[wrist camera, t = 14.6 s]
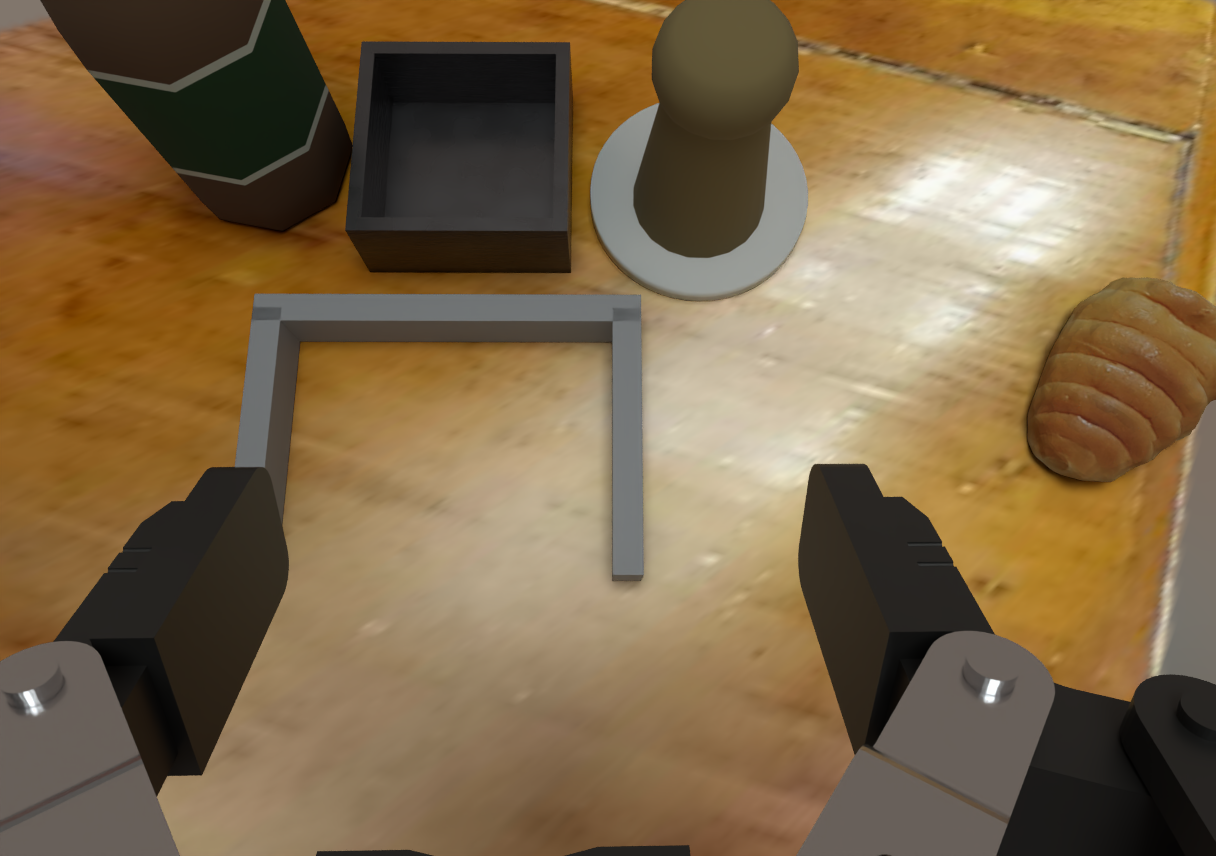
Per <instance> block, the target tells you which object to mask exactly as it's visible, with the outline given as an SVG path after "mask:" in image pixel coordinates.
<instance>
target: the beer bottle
mask: <svg viewBox="0 0 1216 856" xmlns="http://www.w3.org/2000/svg"><path fill="white" fill-rule="evenodd" d="M41 2H42V3H43V6H44V7H45V9H46V11H47V12H48V14H49V16H50V17H51V19H52V21H53V22H54V24H55V26H56V28H57V29H58V31H59V32H60V34H61V35H62V36H63V38H64V39H65V40H66V42H67V43H68V44H69V46H70V47H71V49H72V50H73V51H74V53H75V54H76V55H77V57H78V58H79V60H80V61H81V62H82V64H83V65H84V66H85V68H86V69H87V70H88V72H89V73H90V74H91V75H92V76H93V77H94V78H95V80H96V81H97V82H98V83H99V84H100V85H101V87H102V88H103V89H104V90H105V91H106V92H107V93H108V95H109V96H110V97H111V98H112V99H113V100H114V101H115V103H116V104H117V105H118V106H119V107H120V108H121V109H122V111H123V112H124V113H125V114H126V115H127V116H128V118H129V119H130V120H131V121H132V122H133V123H134V124H135V126H136V127H137V128H138V129H139V130H140V131H141V132H142V134H143V135H144V136H145V137H146V138H147V139H148V140H149V142H150V143H151V144H152V145H153V146H154V147H155V149H156V150H157V151H158V152H159V153H160V154H161V155H162V157H163V158H164V159H165V160H166V161H167V162H168V163H169V165H170V166H171V167H172V168H173V169H174V170H175V171H176V173H177V174H178V175H179V176H180V177H181V178H182V180H183V181H184V182H185V183H186V184H187V185H188V186H189V188H190V189H191V190H192V191H193V192H194V193H195V194H196V196H197V197H198V198H199V199H200V200H201V201H202V202H203V203H204V204H205V205H206V206H207V207H208V208H209V209H210V210H211V211H212V212H213V213H214V214H215V215H216V216H217V217H218V218H219V219H222V220H227V221H232V222H238V223H243V224H248V225H253V226H259V227H264V228H269V229H275V230H280V231H284V230H286V229H287V228H289V227H291V226H293V225H295V224H296V223H298V222H300V221H302V220H303V219H305V218H307V217H309V216H311V215H312V214H314V213H316V212H318V211H319V210H321V209H323V208H325V207H327V206H328V205H330V204H332V203H334V202H335V200H336V197H337V194H338V191H339V188H340V184H341V181H342V178H343V175H344V172H345V169H346V166H347V162H348V159H349V156H350V153H351V150H352V147H353V145H352V142H351V140H350V137H349V134H348V132H347V129H346V126H345V124H344V121H343V119H342V117H341V115H340V113H339V111H338V109H337V107H336V105H335V103H334V101H333V99H332V97H331V94H330V92H329V90H328V88H327V86H326V84H325V82H324V80H323V78H322V76H321V74H320V72H319V69H318V67H317V65H316V63H315V61H314V59H313V57H312V55H311V53H310V51H309V49H308V47H307V44H306V42H305V40H304V38H303V36H302V34H301V32H300V30H299V28H298V26H297V24H296V22H295V19H294V17H293V15H292V13H291V11H290V9H289V7H288V5H287V3H286V1H285V0H41Z"/></svg>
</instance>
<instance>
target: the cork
mask: <svg viewBox="0 0 1216 856" xmlns="http://www.w3.org/2000/svg"><path fill="white" fill-rule="evenodd" d="M798 72H799V65H798V41H797V39H796V36H795V34H794V32H793V29H792V27H791V24H790V22H789V21H788V19H787V18H786V16H785V15H784V14H783V13H782V12H781V11H780V10H779V8H778V7H777V6H776V5H775V4H774V3H773V2H771V1H770V0H685V1H683V2H682V3H681V4H679V5H678V6H677V7H676V8H675V9H674V10H673V11H672V13H671V14H670V15H669V16H668V17H667V18H666V19H665V20H664V22H663V25H662V27H661V29H660V31H659V34H658V36H657V39H656V41H655V44H654V46H653V52H652V81H653V84H654V87H655V90H656V93H657V96H658V99H659V101H660V103H659V106H658V110H657V113H656V116H655V119H654V123H653V126H652V129H651V132H650V136H649V139H648V142H647V145H646V149H645V152H644V155H643V158H642V162H641V165H640V168H639V171H638V175H637V178H636V181H635V184H634V190H633V207H634V210H635V213H636V216H637V219H638V222H639V224H640V226H641V227H642V228H643V229H644V231H645V232H646V233H647V235H648V236H649V237H650V239H651V240H653V241H654V242H656V243H657V244H658V245H660V246H661V247H663V248H664V249H666V250H667V251H669V252H672V253H675V254H678V255H682V256H685V257H688V258H711V257H715V256H718V255H722V254H726V253H729V252H731V251H732V250H734V249H735V248H737V247H738V246H740V245H742V244H743V243H745V242H746V241H747V240H748V238H749V237H750V236H751V235H752V233H753V232H754V231H755V230H756V228H757V227H758V225H759V222H760V219H761V216H762V213H763V210H764V202H765V190H766V179H767V167H768V155H769V143H770V132H771V122H772V120H773V119H774V118H775V117H776V116H777V114H778V113H779V112H780V111H781V109H782V108H783V107H784V106H785V105H786V103H787V102H788V101H789V98H790V95H791V92H792V89H793V87H794V84H795V81H796V78H797V75H798Z"/></svg>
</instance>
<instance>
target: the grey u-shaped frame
mask: <svg viewBox="0 0 1216 856" xmlns="http://www.w3.org/2000/svg"><path fill="white" fill-rule="evenodd" d="M300 341H314V342H612V581H641V580H642V577H643V575H644V562H643V461H642V360H641V295H494V294H255V295H254V304H253V313H252V321H251V330H250V339H249V347H248V356H247V365H246V374H245V382H244V391H243V400H242V408H241V417H240V426H239V435H238V443H237V452H236V461H235V467H264V468H265V469H266V470H267V471H268V473H269V475H270V477H271V480H272V484H273V489H274V493H275V497H276V502H277V506H278V510H279V515H280V519H281V524H282V521H283V510H284V500H285V490H286V480H287V470H288V460H289V450H290V439H291V429H292V419H293V409H294V399H295V389H296V379H297V368H298V358H299V348H300Z"/></svg>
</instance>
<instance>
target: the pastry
mask: <svg viewBox="0 0 1216 856" xmlns="http://www.w3.org/2000/svg"><path fill="white" fill-rule="evenodd" d="M1213 400H1216V307H1215V306H1214V305H1213V304H1212V303H1210V302H1209V301H1208V300H1206V299H1205V298H1204V297H1203V296H1201V295H1200V294H1198V293H1197V292H1195V291H1192V290H1189V289H1185V288H1181V287H1177V286H1176V285H1174V284H1173V283H1171V282H1168V281H1165V280H1161V279H1155V278H1121V279H1118V280H1115V281H1113V282H1111V283H1110V284H1109V285H1108V286H1106V287H1105V288H1104V289H1103V290H1102V291H1100V292H1099V293H1097V294H1094V295H1092V296H1090V297H1089V298H1087V299H1085V300H1084V301H1082V302H1080V303H1079V304H1078V306H1077V307H1076V308H1075V309H1074V311H1073V313H1072V315H1071V316H1070V318H1069V320H1068V321H1067V323H1066V324H1065V326H1064V328H1063V329H1062V331H1061V333H1060V335H1059V337H1058V339H1057V341H1056V342H1055V344H1054V346H1053V348H1052V350H1051V352H1050V355H1049V357H1048V359H1047V361H1046V364H1045V367H1044V370H1043V372H1042V375H1041V378H1040V381H1039V384H1038V387H1037V389H1036V392H1035V395H1034V397H1033V400H1032V403H1031V406H1030V409H1029V412H1028V443H1029V445H1030V447H1031V450H1032V452H1033V454H1034V455H1035V456H1036V457H1037V458H1038V459H1039V460H1040V461H1042V462H1043V463H1044V464H1045V465H1046V466H1047V467H1049V468H1050V469H1051V470H1053V471H1054V472H1056V473H1058V474H1061V475H1064V476H1068V477H1072V478H1075V479H1079V480H1083V481H1100V482H1112V481H1114V480H1116V479H1117V478H1118V477H1120V476H1122V475H1123V474H1125V473H1126V472H1128V471H1129V470H1130V469H1132V468H1134V467H1137V466H1139V465H1142V464H1145V463H1147V462H1149V461H1151V460H1153V459H1154V458H1155V457H1156V456H1157V455H1158V454H1159V452H1160V451H1162V450H1163V449H1165V448H1167V447H1168V446H1170V445H1171V444H1172V443H1173V442H1175V441H1176V440H1180V439H1182V438H1184V437H1186V436H1188V435H1190V434H1191V432H1192V430H1193V429H1195V428H1196V425H1197V424H1198V422H1199V420H1200V418H1201V415H1202V414H1203V412H1204V409H1205V408H1206V406H1207V405H1208V404H1209V403H1210V402H1211V401H1213Z"/></svg>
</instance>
